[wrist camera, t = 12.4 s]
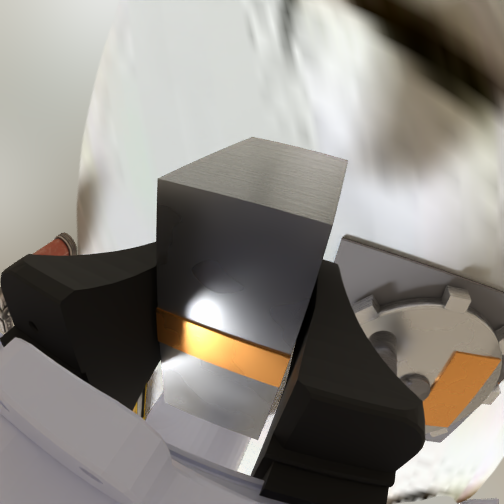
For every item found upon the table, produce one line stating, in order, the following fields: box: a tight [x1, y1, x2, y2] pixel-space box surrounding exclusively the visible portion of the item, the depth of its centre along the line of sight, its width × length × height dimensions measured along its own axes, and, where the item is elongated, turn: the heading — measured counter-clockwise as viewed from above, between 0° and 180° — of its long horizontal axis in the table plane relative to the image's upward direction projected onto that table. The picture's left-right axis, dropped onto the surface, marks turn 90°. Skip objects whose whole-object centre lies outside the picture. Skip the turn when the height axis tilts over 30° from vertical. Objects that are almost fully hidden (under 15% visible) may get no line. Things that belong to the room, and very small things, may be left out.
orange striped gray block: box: [156, 137, 348, 440], centre depth 10 cm, size 4×8×6 cm, turn 171°
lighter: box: [0, 233, 77, 333], centre depth 26 cm, size 8×3×10 cm, turn 149°
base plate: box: [334, 238, 504, 442], centre depth 22 cm, size 18×18×1 cm
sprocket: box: [351, 285, 504, 437], centre depth 20 cm, size 17×17×4 cm
